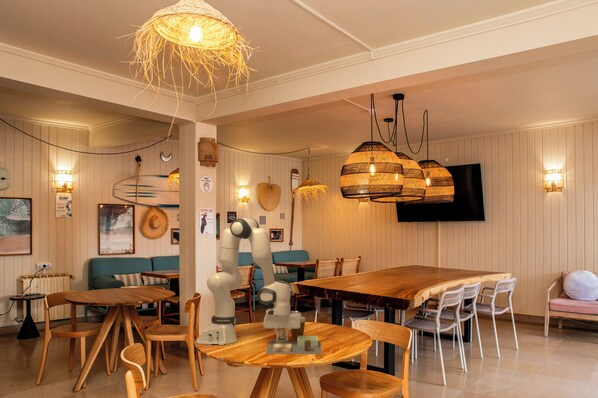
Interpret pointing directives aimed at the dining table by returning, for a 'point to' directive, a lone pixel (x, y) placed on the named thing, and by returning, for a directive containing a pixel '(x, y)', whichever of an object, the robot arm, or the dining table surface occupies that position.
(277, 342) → the dowel socket
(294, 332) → the disposable coffee cup
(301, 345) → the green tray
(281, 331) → the oak dowel
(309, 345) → the bench dog
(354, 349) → the dining table surface
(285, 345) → the beech plate
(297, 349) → the bench mat
